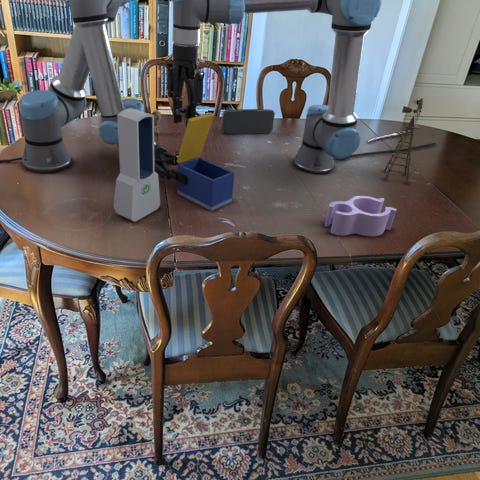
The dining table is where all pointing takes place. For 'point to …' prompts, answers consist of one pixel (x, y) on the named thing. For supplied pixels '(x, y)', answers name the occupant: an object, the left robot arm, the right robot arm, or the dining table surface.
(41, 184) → the dining table surface
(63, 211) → the dining table surface
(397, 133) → the sword
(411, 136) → the miniature windmill
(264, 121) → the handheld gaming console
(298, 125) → the dining table surface
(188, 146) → the lid
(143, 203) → the electronic device
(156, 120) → the lion figurine
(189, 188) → the chest
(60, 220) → the dining table surface
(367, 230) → the clip
